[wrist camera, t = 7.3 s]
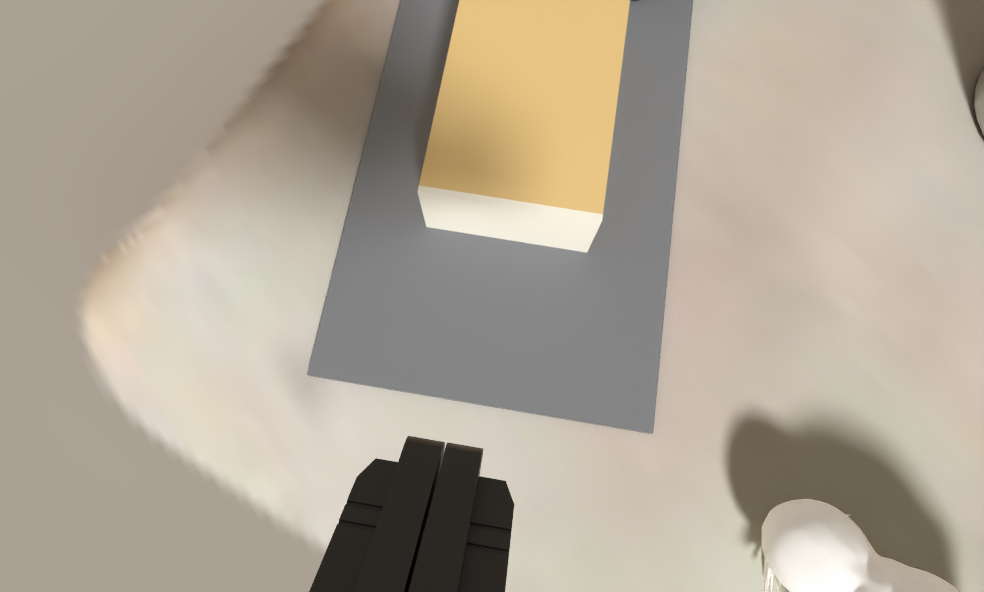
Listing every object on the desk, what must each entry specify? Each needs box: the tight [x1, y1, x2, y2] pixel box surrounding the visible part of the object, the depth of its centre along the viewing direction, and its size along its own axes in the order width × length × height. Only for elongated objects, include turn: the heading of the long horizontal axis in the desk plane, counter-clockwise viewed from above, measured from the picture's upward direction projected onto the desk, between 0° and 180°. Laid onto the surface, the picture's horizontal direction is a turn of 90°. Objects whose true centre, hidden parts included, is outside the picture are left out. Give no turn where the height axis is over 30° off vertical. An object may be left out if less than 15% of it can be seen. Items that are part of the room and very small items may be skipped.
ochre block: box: [417, 0, 630, 253], centre depth 29 cm, size 8×4×12 cm
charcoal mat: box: [307, 0, 693, 434], centre depth 31 cm, size 16×24×1 cm, turn 170°
